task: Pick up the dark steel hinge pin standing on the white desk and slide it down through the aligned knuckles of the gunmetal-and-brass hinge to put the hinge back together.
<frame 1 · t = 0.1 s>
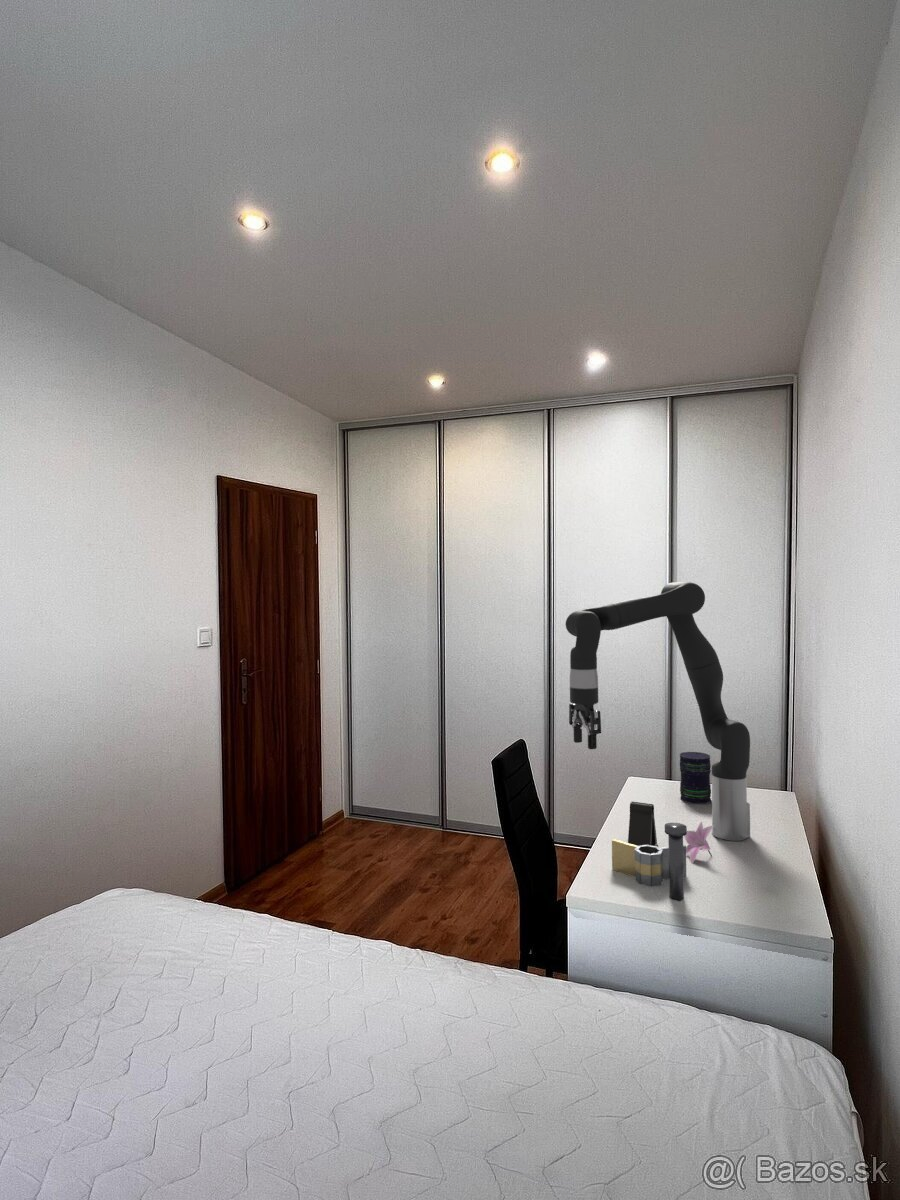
hand: (584, 745, 181), 29 cm above the table, fingers open, 8 cm apart
lily: (698, 858, 178), on the table
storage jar: (695, 800, 227), on the table
hinge pin: (676, 897, 155), on the table
hinge: (649, 880, 164), on the table
phone stand: (642, 847, 186), on the table
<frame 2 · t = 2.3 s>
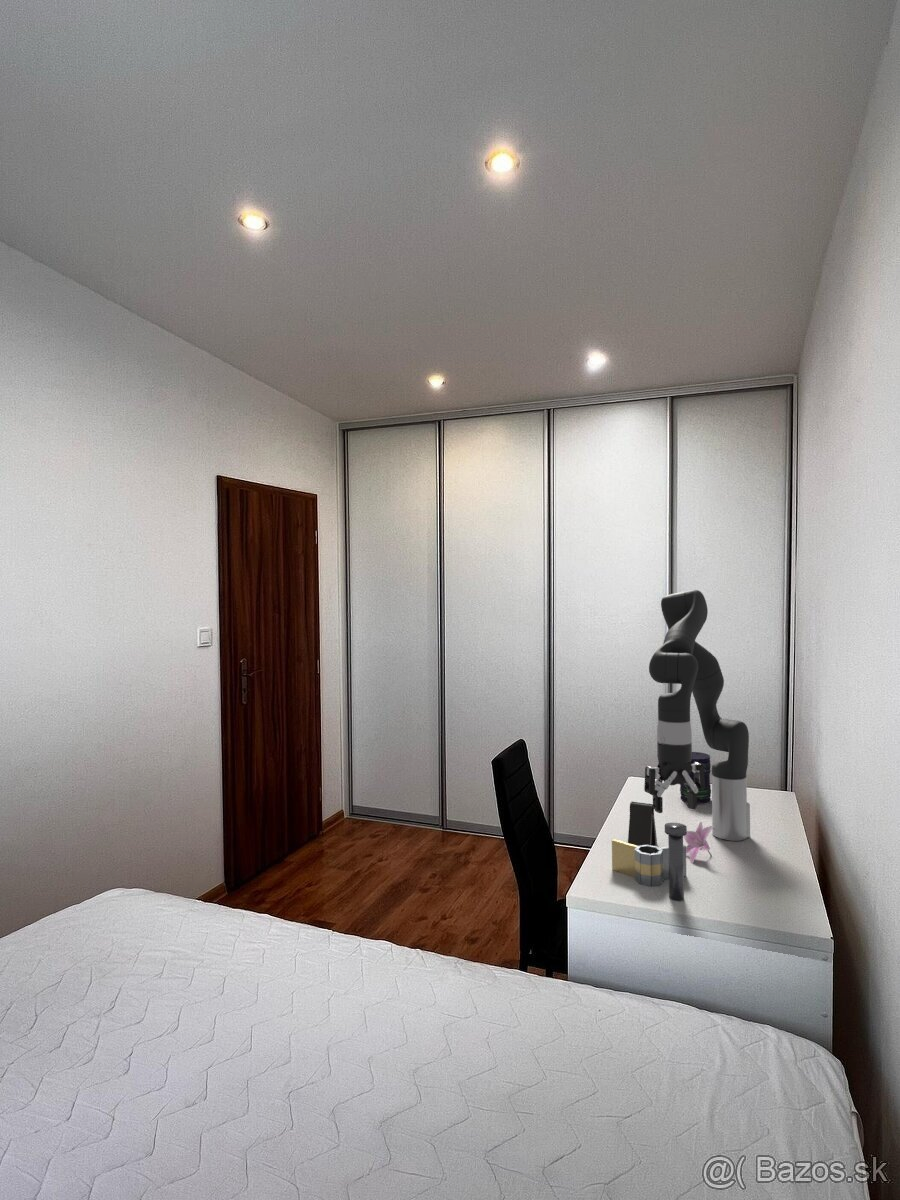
hand: (675, 810, 155), 20 cm above the table, fingers open, 8 cm apart
nothing on the table moved.
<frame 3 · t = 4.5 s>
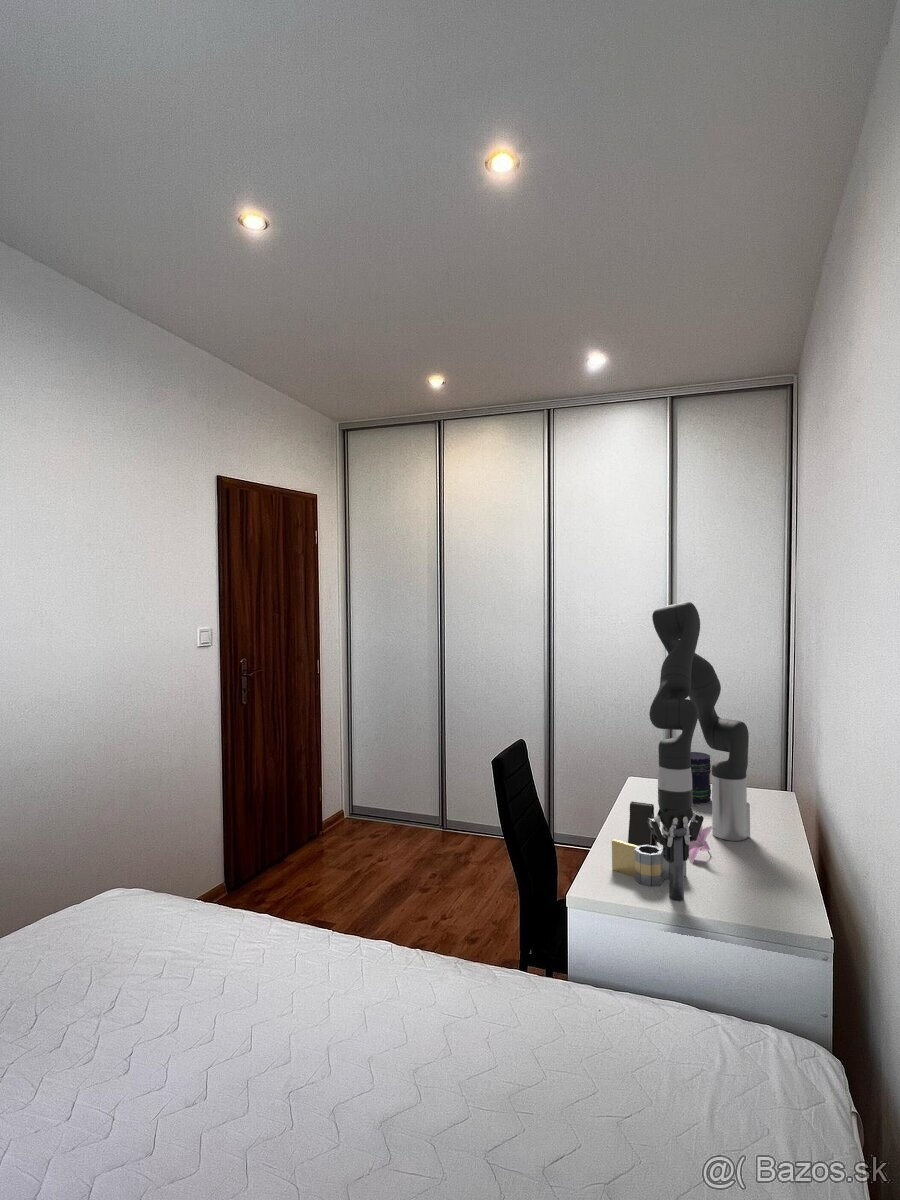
hand: (676, 860, 155), 9 cm above the table, fingers closed on hinge pin, 3 cm apart
hinge pin: (676, 897, 155), on the table, touching gripper
everything else where it was.
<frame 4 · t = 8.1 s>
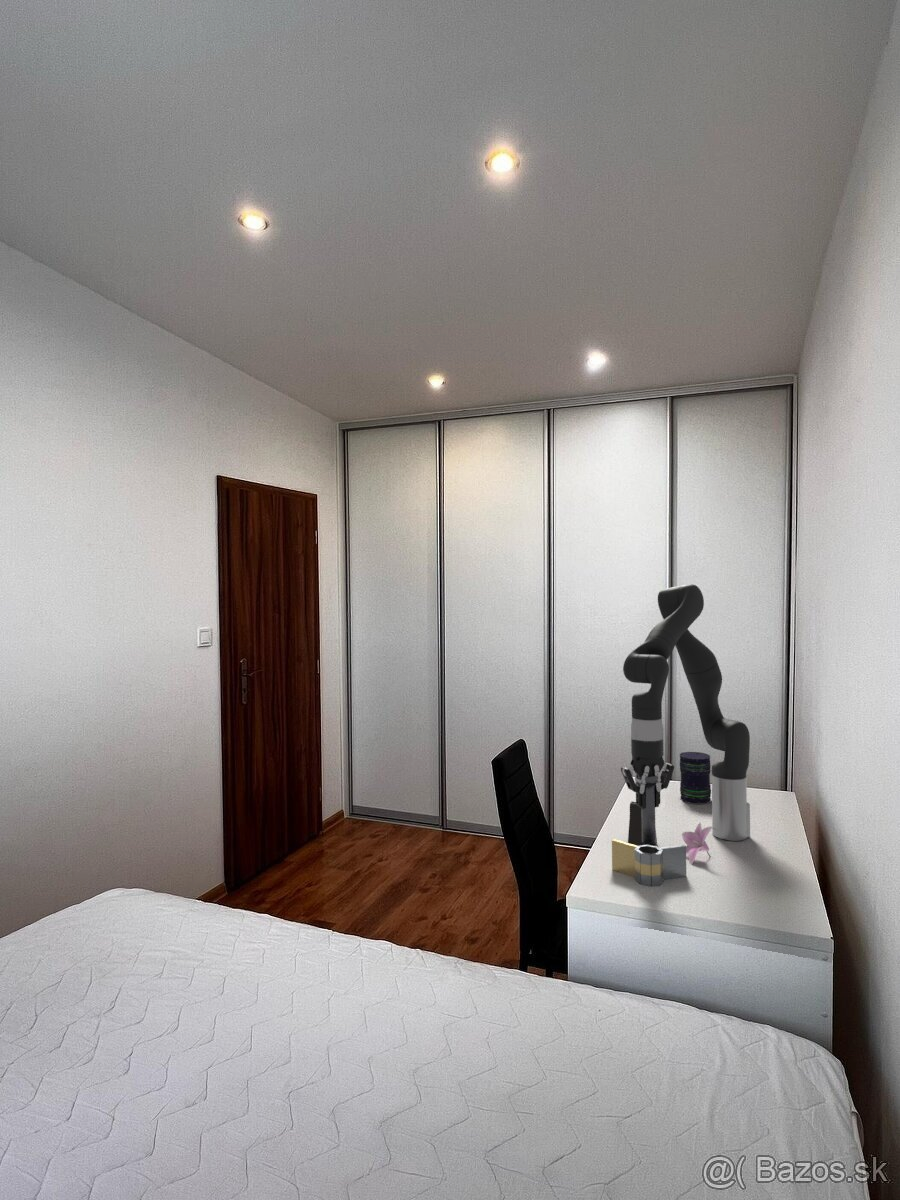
hand: (648, 806, 164), 18 cm above the table, fingers closed on hinge pin, 3 cm apart
hinge pin: (648, 842, 164), point 9 cm above the table, touching gripper
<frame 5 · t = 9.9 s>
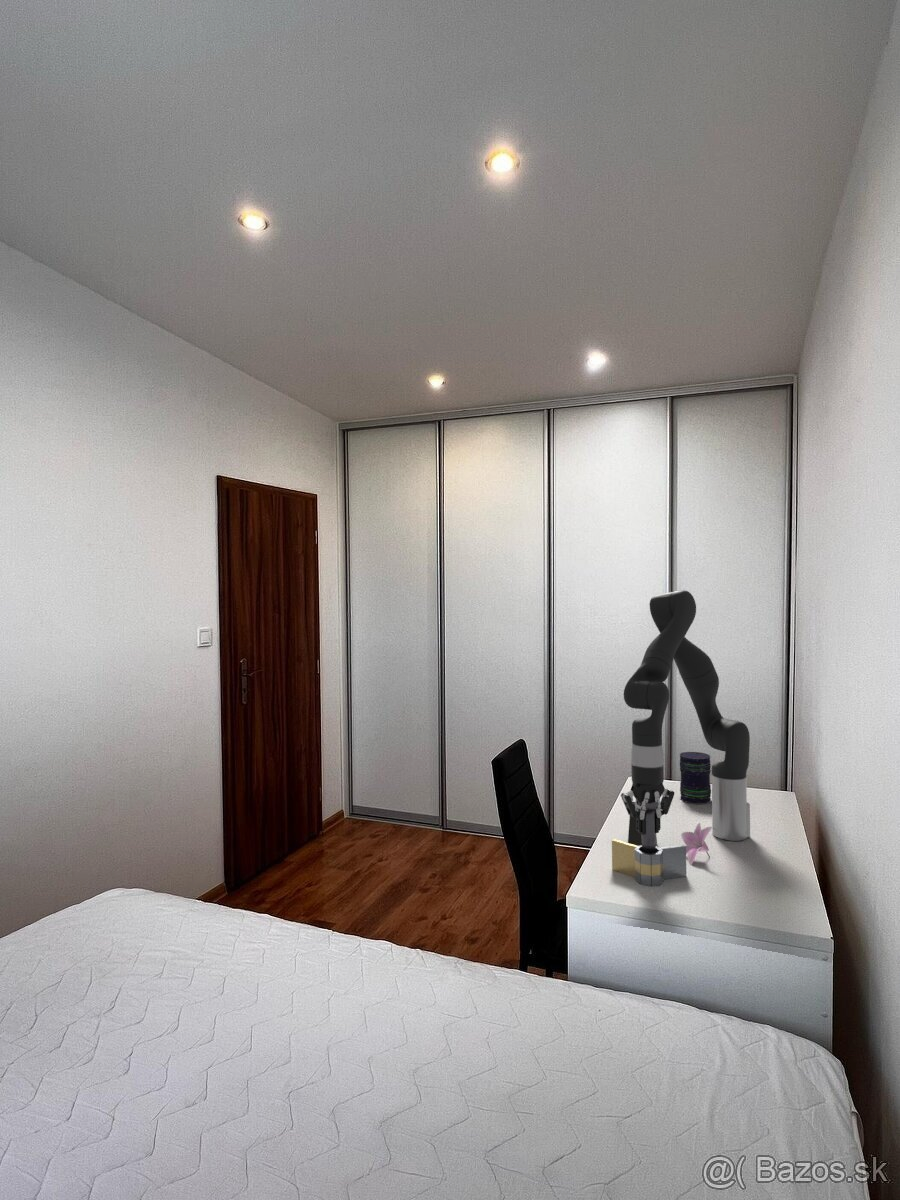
hand: (648, 832, 164), 12 cm above the table, fingers closed on hinge pin, 3 cm apart
hinge pin: (648, 867, 164), point 3 cm above the table, touching gripper
when the fingers open (9 cm above the table, at t = 11.8 s): hinge pin stays where it is, resting in hinge.
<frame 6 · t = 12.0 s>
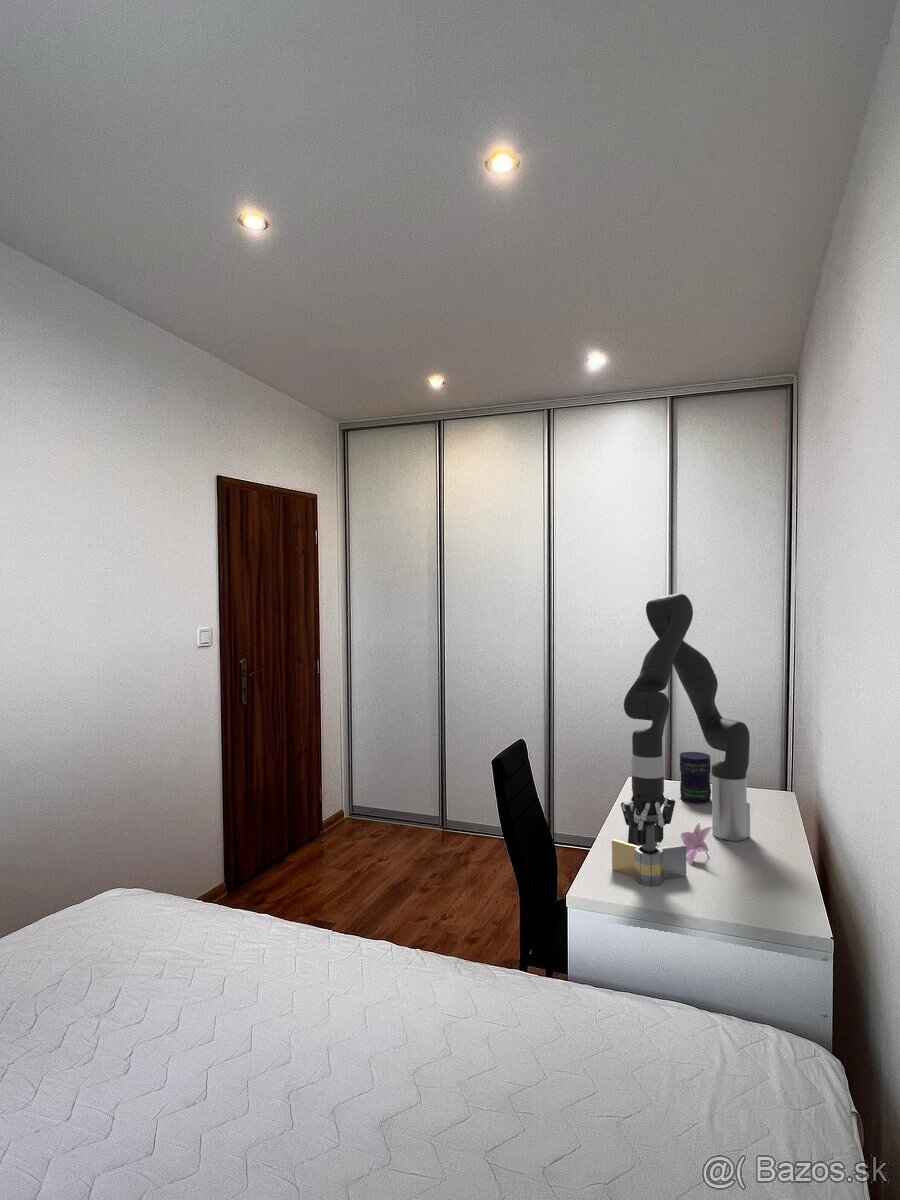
hand: (648, 842, 164), 9 cm above the table, fingers open, 4 cm apart
hinge pin: (649, 880, 164), resting in hinge
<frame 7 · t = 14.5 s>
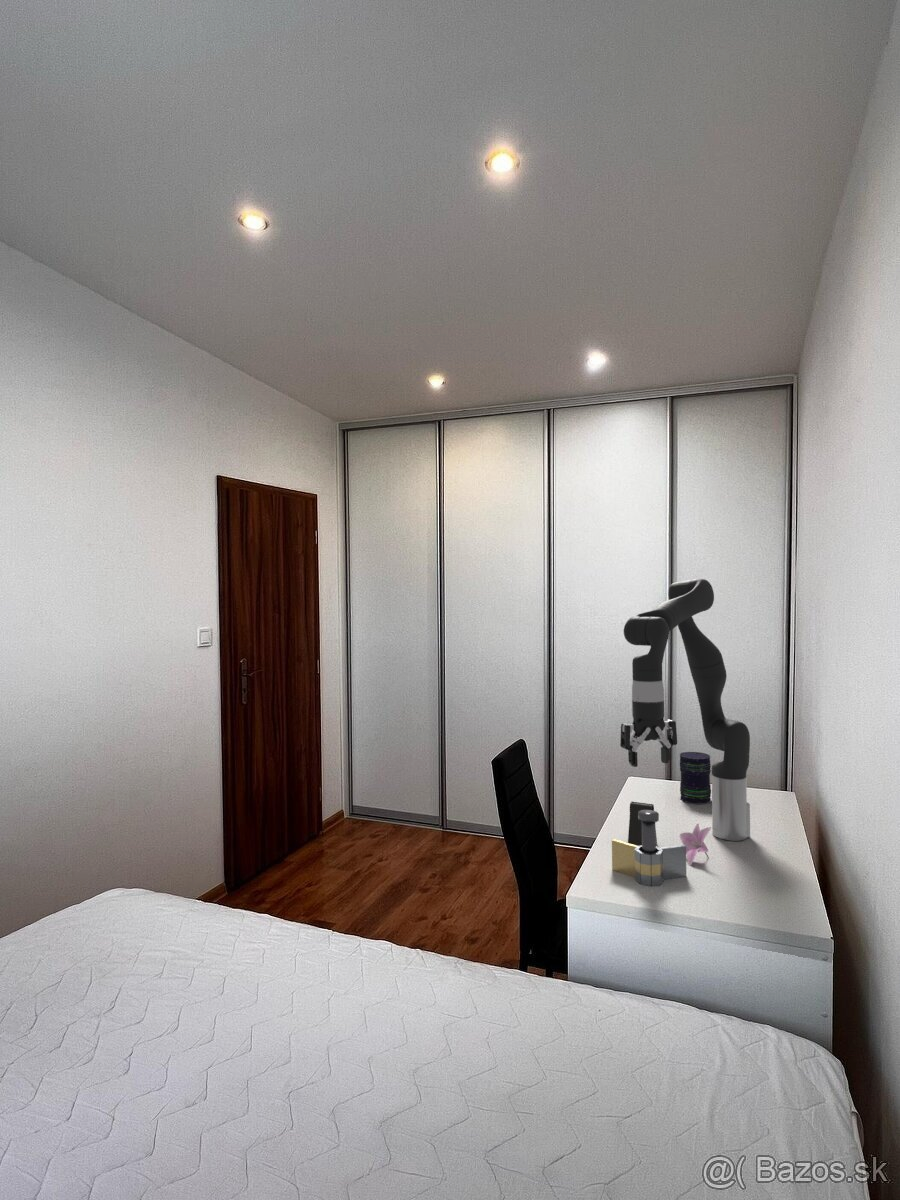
hand: (649, 764, 165), 28 cm above the table, fingers open, 8 cm apart
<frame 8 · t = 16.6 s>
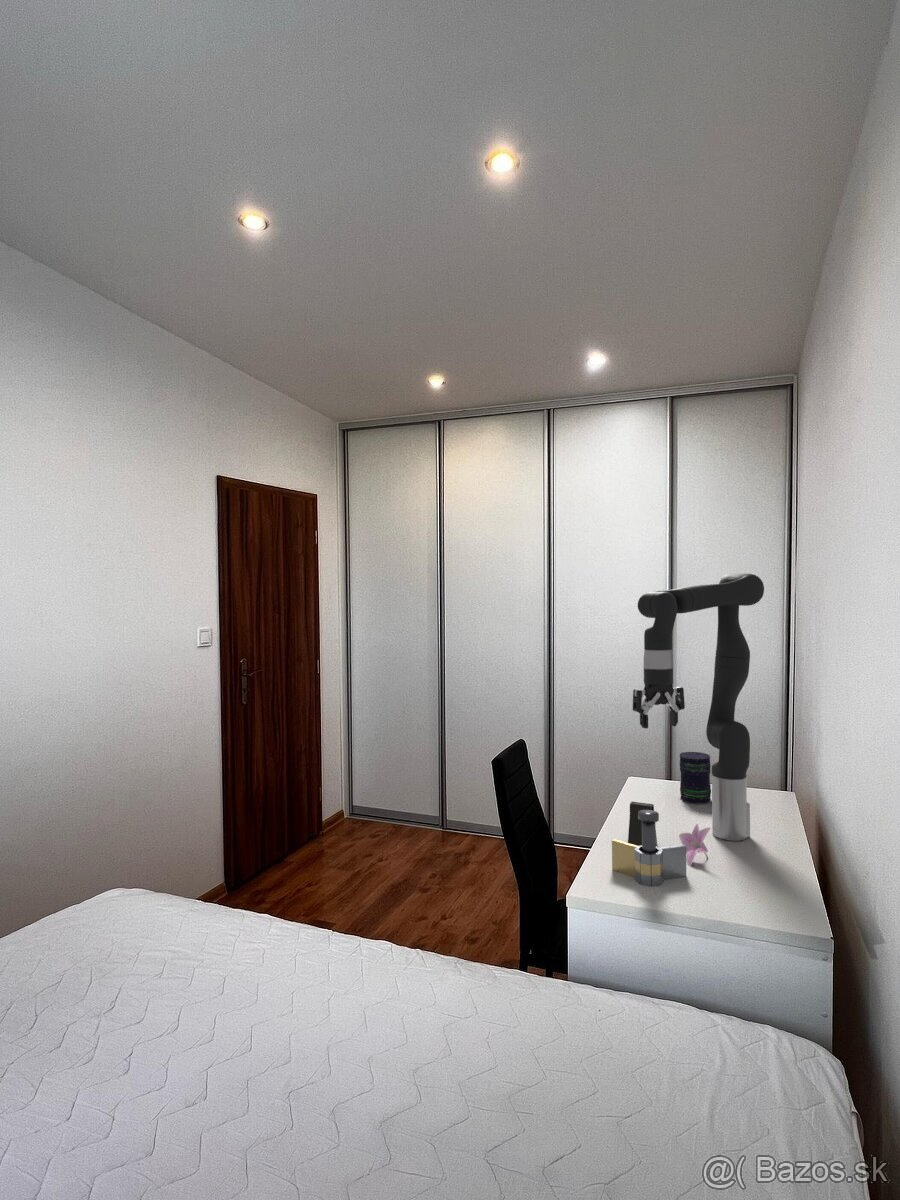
hand: (659, 726, 181), 34 cm above the table, fingers open, 8 cm apart
at the end: hinge pin 0.1 cm off-centre on the hinge, point 0.0 cm above the hinge's base; hinge pin tilted 0°; the gripper is holding nothing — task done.
